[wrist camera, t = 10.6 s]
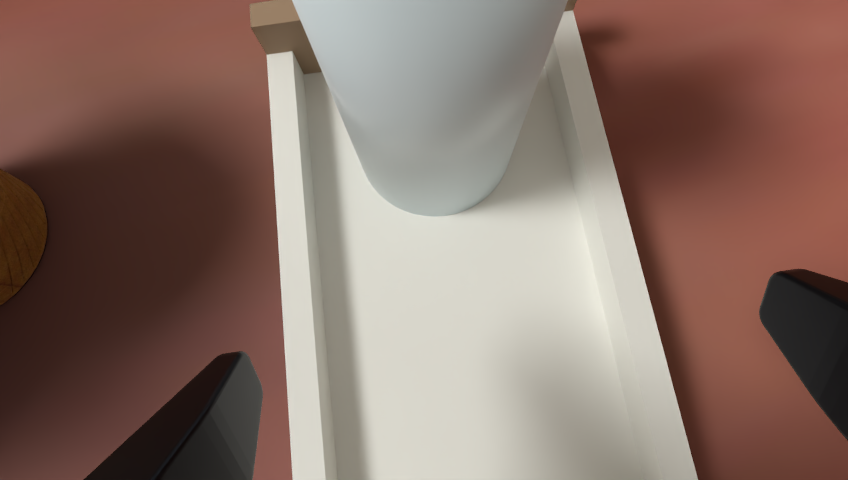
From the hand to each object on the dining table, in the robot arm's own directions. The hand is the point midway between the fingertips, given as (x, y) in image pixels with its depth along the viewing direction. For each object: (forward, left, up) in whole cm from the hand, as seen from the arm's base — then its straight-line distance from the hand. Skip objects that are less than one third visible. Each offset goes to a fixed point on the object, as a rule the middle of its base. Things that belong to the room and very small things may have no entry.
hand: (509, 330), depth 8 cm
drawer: (+3, 0, -9) cm, 10 cm away
